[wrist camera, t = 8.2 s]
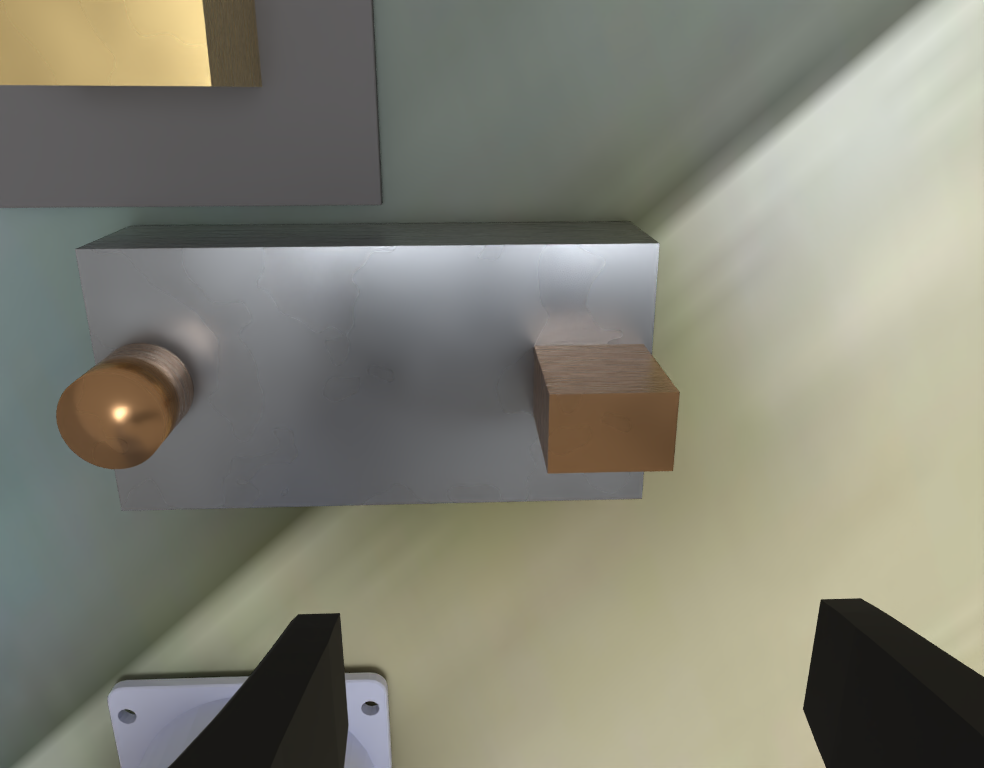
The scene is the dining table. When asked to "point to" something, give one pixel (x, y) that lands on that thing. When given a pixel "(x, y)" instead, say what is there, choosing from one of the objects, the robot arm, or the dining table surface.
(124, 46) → the tan cube
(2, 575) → the dining table surface
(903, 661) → the robot arm
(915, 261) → the dining table surface
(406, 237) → the body
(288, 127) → the mat
